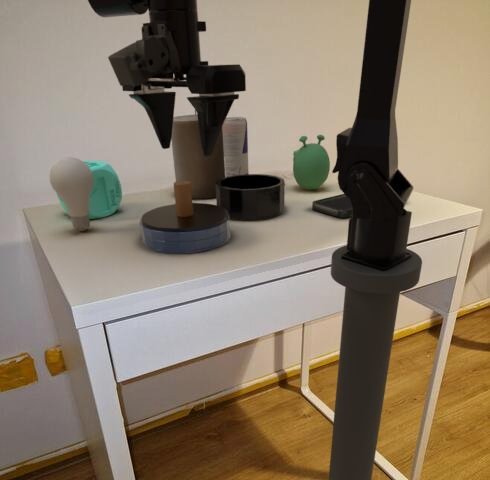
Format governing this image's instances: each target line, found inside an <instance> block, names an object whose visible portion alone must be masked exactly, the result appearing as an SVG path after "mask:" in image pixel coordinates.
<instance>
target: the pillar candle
mask: <svg viewBox="0 0 490 480" xmlns="http://www.w3.org/2000/svg"><path fill="white" fill-rule="evenodd" d="M171 148H172V149H171V150H172V159H173V170H174V176H175V182H177V181H190V182H191V190H192V200H199V199H202V200H203V199H213V198H216V186H215V184H216V181H217V180H219V179H221V178H224V177H225V166H224V149H223V130H222V129H221V131H220V134H219V137H218V139H217V142H216V145H215V147H214V150H213V153H212V155H210V156H204V154H203V150H202V145H201V138H200V131H199V123H198V116H197V111H196V110H195V109H194V114H187V115H185V114H184V115H177V116H174V117H173V127H172V137H171Z"/></svg>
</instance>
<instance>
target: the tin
mask: <svg viewBox="0 0 490 480" xmlns="http://www.w3.org/2000/svg"><path fill="white" fill-rule="evenodd" d="M285 183H286V182H285V179H284V178H282V177H280V176H277V175H273V174H265V173H264V174H263V173H249V174H243V175H234V176H229V177H224V178H221V179H219V180H217V181H216V184H215V186H216V197H215V200H216V205H217V206H220V207H223V208H225V209H226V210H227V211H228V214H229V217H230V220H232V221H243V222H252V221H253V222H255V221H263V220H269V219H270V220H271V219H273V218H276V217H278V216H281V215H282V214H283V213H284V212H285V193H286V191H285V187H286V186H285V185H286V184H285Z"/></svg>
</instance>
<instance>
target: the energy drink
mask: <svg viewBox="0 0 490 480" xmlns="http://www.w3.org/2000/svg"><path fill="white" fill-rule="evenodd" d="M222 130H223V149H224V166H225V177H229V176H234V175H243V174H250V173H249V144H248V143H249V141H248V138H249V137H248V121H247V118H246V117H244V116H232V117H226V119H225V121H224V124H223V126H222Z"/></svg>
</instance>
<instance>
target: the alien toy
mask: <svg viewBox="0 0 490 480" xmlns="http://www.w3.org/2000/svg"><path fill="white" fill-rule="evenodd" d="M325 138H326V137H325V136H324V135H323V134H318V135H317V136H316V139H317V140H318V141H317V143H313V142H311V143H306V141H307V140H308V136H306V135H302V136H300V138H299V139H298V140H299V142H300V143H302V145H301V147H299V148H298V149H296V150H293V154H292V155H293V158H292V162H293V163H292V174H293V177H294V179H295V182H296V183H297V185H298V186H300V188H302V189H305V190H307V191H314V190H317V189H320V187H322V186H323V185H324V184H325V183H326V181H327V179H328V177H329V174H330V169H331V163H330V162H331V161H330V157H329V154H328V151H327V150H326V148H325V147H324V146H322V144H321V142H322V141H324V140H326V139H325Z"/></svg>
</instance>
